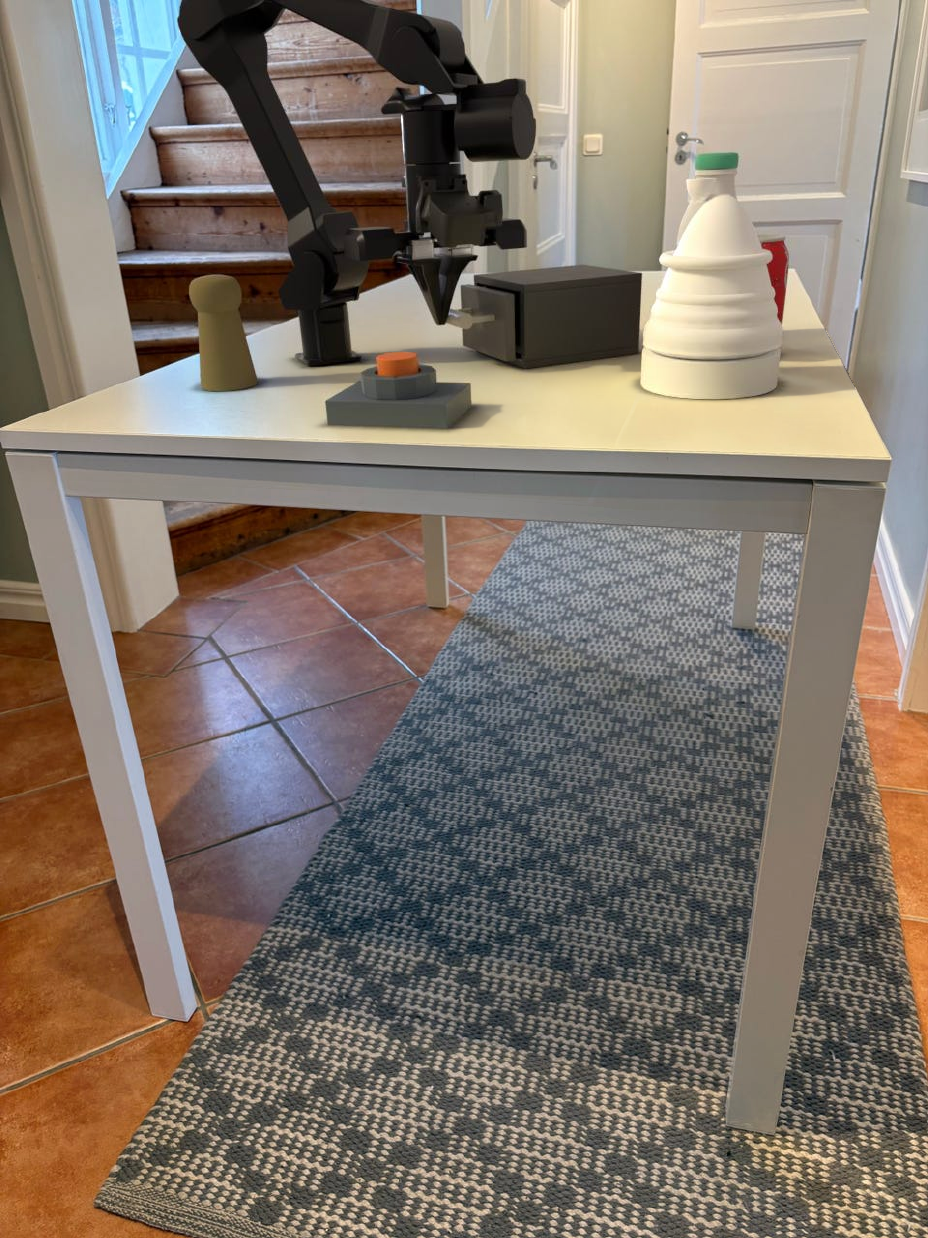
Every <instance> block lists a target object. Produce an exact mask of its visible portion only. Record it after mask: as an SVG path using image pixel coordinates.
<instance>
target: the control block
mask: <svg viewBox="0 0 928 1238" xmlns="http://www.w3.org/2000/svg"><path fill="white" fill-rule="evenodd" d="M418 372H419V373H416V374H412V375H405V376H381V375H378V371H377V366H373V367H369V368H366V369H365V370H362V371H361V372H360V373H359V375H360V376H359V377H360V380H358V381H356V382H355V383H353V384H351V385H350V386H348V387H346V388H344V389H342V390H341V391H339V392H337V393H336V394H334V395H332V396H330V397H329V398H327V399H326V400H324V405H325V415H326V422H327V426H337V427H365V428H366V427H368V428H393V429H396V428H397V429H398V428H399V429H421V430H424V429H425V430H426V429H427V430H448V429H449V428H450V427H451V426H452V425H453V424H454V423H455V422H456V421H457V420H459V419H460V418H461V417H462V416H463V415H464V414H465V413H466V412H467V411H469V409H471V408H472V384H471V382H445V381H444V382H443V381H442V382H439V381H437V370H436V369H435V368H434V367H433V366H432V365H427V364H423V363H418Z"/></svg>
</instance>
